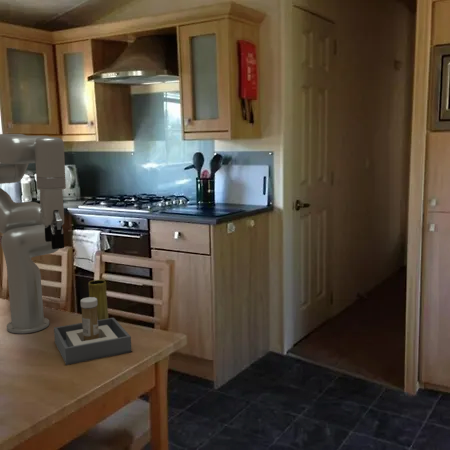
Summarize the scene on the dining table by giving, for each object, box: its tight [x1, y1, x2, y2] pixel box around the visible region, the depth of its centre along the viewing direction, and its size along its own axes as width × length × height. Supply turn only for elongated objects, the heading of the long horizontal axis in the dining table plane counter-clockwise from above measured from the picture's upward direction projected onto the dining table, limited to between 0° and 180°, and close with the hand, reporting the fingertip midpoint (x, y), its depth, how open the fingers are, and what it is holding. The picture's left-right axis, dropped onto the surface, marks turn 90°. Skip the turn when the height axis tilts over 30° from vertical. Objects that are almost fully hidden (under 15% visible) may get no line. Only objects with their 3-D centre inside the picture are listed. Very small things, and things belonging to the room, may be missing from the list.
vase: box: [87, 279, 109, 320], centre depth 169 cm, size 6×6×14 cm
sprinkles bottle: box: [80, 296, 99, 341], centre depth 152 cm, size 5×5×14 cm
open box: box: [53, 317, 132, 366], centre depth 153 cm, size 18×18×4 cm
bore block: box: [66, 325, 118, 347], centre depth 153 cm, size 12×12×3 cm
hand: (54, 244), depth 150 cm, fingers open, 9 cm apart
